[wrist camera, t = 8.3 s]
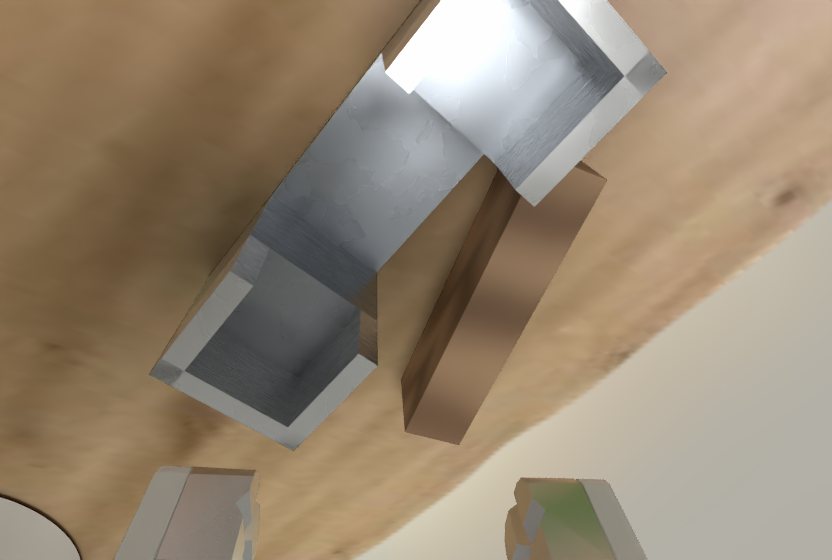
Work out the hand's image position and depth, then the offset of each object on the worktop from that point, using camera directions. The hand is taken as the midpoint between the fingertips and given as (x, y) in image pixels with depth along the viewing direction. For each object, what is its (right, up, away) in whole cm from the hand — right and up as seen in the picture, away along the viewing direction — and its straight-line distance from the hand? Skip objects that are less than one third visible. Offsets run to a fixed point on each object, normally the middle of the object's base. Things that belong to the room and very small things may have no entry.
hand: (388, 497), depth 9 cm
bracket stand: (-2, +10, +19) cm, 21 cm away
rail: (+4, +4, +22) cm, 23 cm away
